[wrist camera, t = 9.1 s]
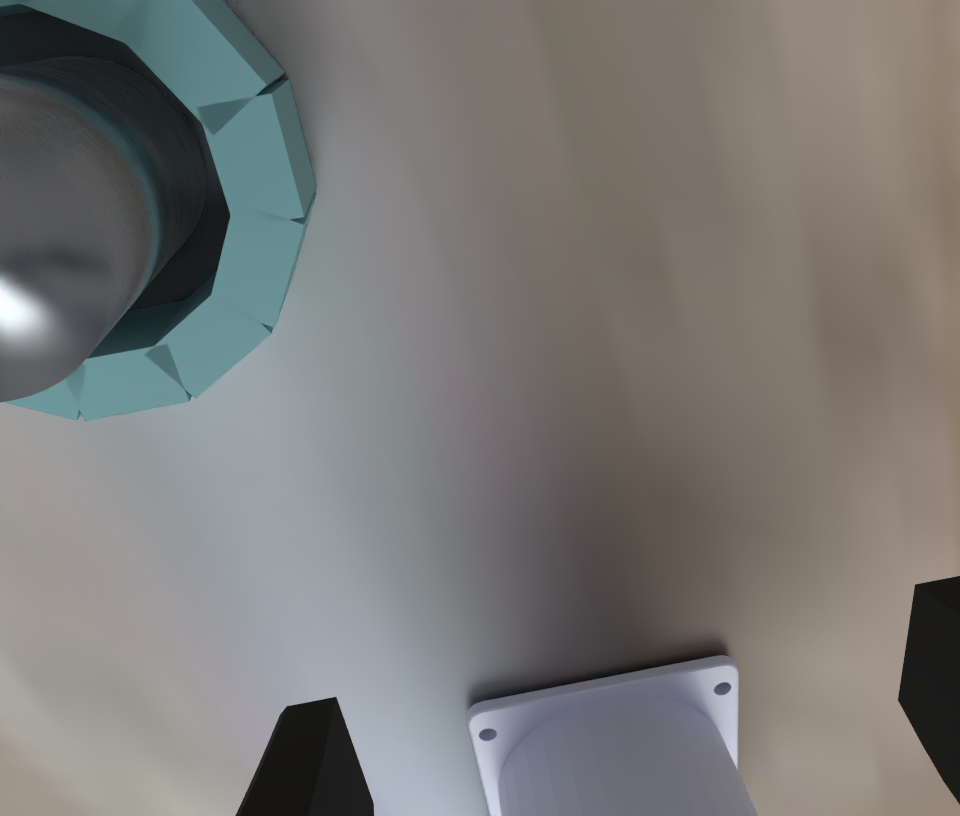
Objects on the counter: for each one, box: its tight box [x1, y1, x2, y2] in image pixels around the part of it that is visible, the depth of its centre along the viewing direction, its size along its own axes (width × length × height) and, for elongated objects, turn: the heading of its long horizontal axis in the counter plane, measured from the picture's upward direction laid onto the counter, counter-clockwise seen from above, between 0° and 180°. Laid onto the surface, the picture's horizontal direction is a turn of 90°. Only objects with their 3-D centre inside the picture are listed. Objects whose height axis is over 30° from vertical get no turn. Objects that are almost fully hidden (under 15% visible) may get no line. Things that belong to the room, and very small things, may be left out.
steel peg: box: [0, 56, 207, 402], centre depth 12 cm, size 4×4×6 cm
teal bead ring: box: [0, 0, 316, 421], centre depth 14 cm, size 8×8×2 cm
